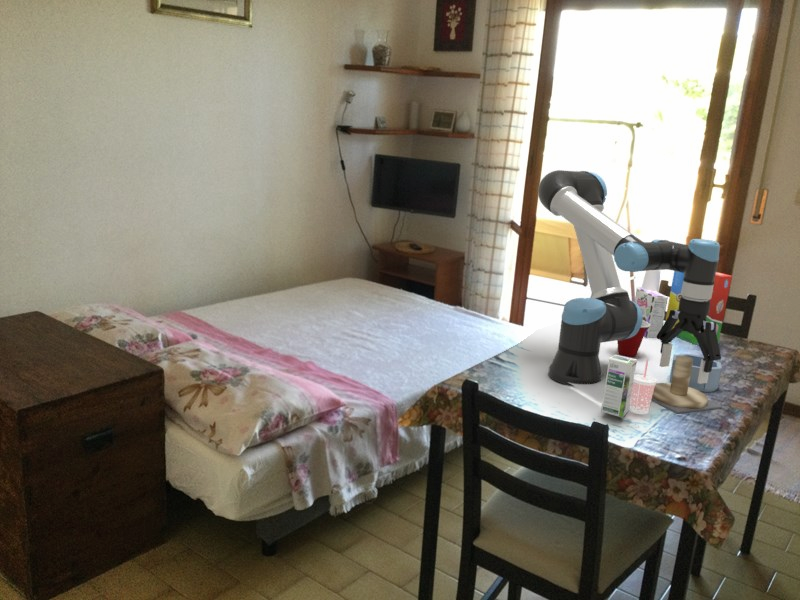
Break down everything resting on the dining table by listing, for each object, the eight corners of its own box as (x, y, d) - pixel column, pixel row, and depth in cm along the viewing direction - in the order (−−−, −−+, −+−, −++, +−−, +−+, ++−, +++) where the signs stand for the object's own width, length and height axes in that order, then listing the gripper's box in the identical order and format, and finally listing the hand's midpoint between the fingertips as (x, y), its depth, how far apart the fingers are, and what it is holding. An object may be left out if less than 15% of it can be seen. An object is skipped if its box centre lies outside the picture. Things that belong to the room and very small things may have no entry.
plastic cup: (640, 362, 216) (646, 326, 213) (606, 354, 222) (612, 319, 219) (648, 354, 225) (654, 320, 222) (615, 347, 231) (620, 313, 228)
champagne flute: (638, 328, 258) (648, 267, 252) (655, 333, 253) (666, 270, 248) (630, 331, 253) (640, 268, 247) (647, 336, 248) (658, 272, 243)
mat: (676, 413, 176) (677, 412, 175) (634, 391, 190) (634, 389, 190) (722, 408, 182) (722, 406, 182) (677, 386, 196) (677, 385, 196)
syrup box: (600, 412, 173) (608, 358, 169) (607, 405, 178) (615, 353, 174) (622, 418, 170) (631, 363, 166) (629, 411, 175) (637, 358, 171)
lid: (677, 411, 176) (684, 369, 173) (636, 390, 189) (643, 350, 187) (719, 406, 182) (727, 365, 179) (677, 386, 195) (684, 348, 193)
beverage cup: (654, 411, 176) (663, 360, 173) (645, 417, 171) (654, 365, 168) (632, 404, 180) (640, 354, 177) (622, 410, 175) (630, 358, 172)
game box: (661, 335, 251) (674, 263, 245) (673, 334, 253) (685, 262, 247) (706, 352, 233) (720, 275, 226) (717, 351, 235) (732, 275, 228)
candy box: (629, 329, 256) (636, 286, 252) (644, 329, 256) (651, 287, 252) (645, 340, 242) (652, 295, 238) (660, 340, 243) (668, 296, 239)
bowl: (693, 393, 191) (697, 370, 190) (659, 377, 203) (663, 355, 201) (727, 390, 196) (731, 367, 195) (692, 374, 208) (696, 353, 206)
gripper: (745, 309, 169) (730, 389, 174) (671, 287, 192) (659, 358, 196) (723, 310, 166) (708, 391, 171) (650, 288, 189) (639, 360, 194)
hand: (682, 374), depth 184 cm, fingers open, 13 cm apart
